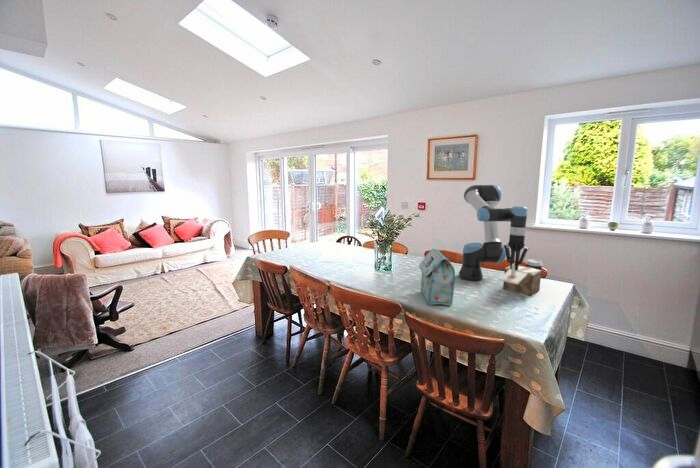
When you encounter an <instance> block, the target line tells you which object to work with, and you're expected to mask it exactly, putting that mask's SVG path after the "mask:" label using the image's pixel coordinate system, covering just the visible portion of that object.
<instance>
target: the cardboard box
mask: <svg viewBox="0 0 700 468" xmlns="http://www.w3.org/2000/svg"><path fill="white" fill-rule="evenodd" d="M508 270H512V269H510V265H509V266H507V267H505V268H504V271H503V272H504V273H503V275H504V274H505V273H506V272H507V271H508ZM516 271H518V272H522V273H527V276H526V277H525V278H524V279H523V280H522V281H521V282H520V283H519V284H518V285H516V284H512V283H508V282H504V281H503V285H502V289H504V290H507V291H510V292H515V293H518V294H522V295H526V296H529V297H533V296H534V295H535V294H537V293H539V292H540V287H541V278H542V269H541V270H538V269H533V268H528V267H526V266H522V265H518V270H516Z"/></svg>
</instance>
